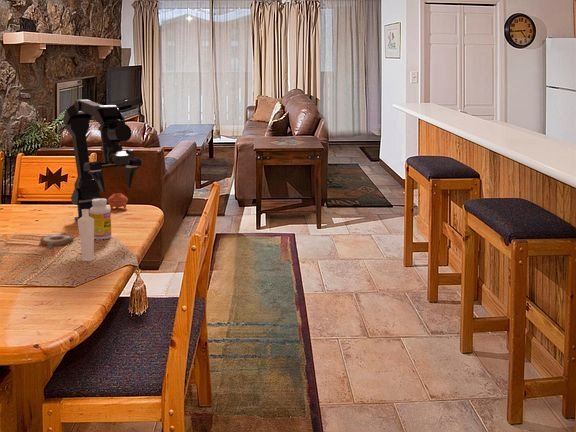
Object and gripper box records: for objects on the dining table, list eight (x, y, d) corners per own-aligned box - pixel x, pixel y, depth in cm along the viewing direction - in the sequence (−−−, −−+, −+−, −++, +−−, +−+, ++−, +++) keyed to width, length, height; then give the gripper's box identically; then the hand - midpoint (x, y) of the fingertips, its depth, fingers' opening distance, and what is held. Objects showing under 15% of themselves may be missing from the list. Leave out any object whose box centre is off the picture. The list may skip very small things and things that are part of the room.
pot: (116, 211, 249) (113, 194, 249) (106, 212, 255) (102, 196, 254) (133, 207, 255) (130, 190, 255) (123, 208, 261) (119, 192, 260)
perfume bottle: (89, 256, 192) (86, 207, 189) (99, 258, 190) (96, 209, 186) (76, 259, 189) (73, 210, 185) (86, 262, 186) (83, 212, 183)
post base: (48, 236, 213) (48, 232, 213) (78, 236, 214) (78, 232, 213) (33, 247, 201) (33, 243, 201) (65, 247, 201) (65, 243, 201)
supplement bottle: (105, 240, 209) (103, 202, 206) (87, 239, 210) (84, 201, 207) (115, 235, 215) (113, 198, 212) (97, 234, 217) (94, 197, 214)
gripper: (94, 144, 201) (100, 193, 203) (147, 140, 213) (153, 186, 215) (80, 146, 210) (86, 193, 211) (132, 141, 222) (137, 186, 223)
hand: (116, 190), depth 215 cm, fingers open, 9 cm apart
